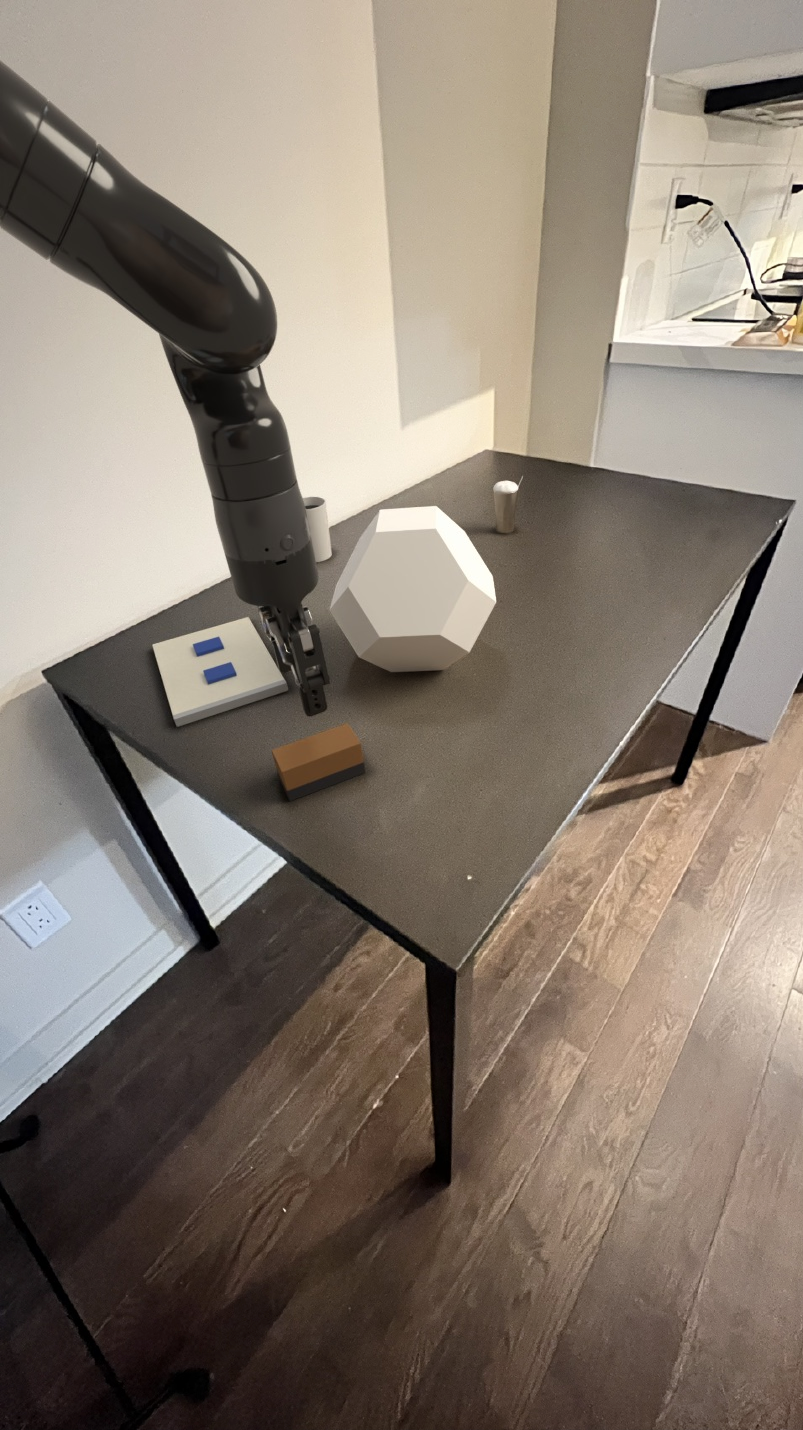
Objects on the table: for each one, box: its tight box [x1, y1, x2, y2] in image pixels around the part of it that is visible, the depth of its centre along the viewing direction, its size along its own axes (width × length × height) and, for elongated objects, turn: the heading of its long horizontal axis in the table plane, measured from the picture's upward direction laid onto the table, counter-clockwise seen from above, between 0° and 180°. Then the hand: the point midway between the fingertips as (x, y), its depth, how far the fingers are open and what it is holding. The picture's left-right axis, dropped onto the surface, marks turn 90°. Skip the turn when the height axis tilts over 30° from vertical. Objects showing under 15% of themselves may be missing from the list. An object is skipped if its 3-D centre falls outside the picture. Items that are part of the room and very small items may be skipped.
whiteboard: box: [152, 616, 289, 728], centre depth 89 cm, size 15×21×1 cm
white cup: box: [303, 496, 333, 563], centre depth 114 cm, size 7×7×10 cm
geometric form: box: [328, 505, 497, 673], centre depth 82 cm, size 20×20×20 cm
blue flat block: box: [193, 637, 224, 657], centre depth 92 cm, size 4×3×1 cm
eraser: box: [271, 722, 366, 802], centre depth 69 cm, size 4×9×4 cm, turn 115°
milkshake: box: [492, 475, 524, 534], centre depth 116 cm, size 5×5×10 cm
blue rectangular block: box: [203, 662, 237, 684], centre depth 86 cm, size 4×3×1 cm
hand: (302, 689), depth 64 cm, fingers open, 8 cm apart
